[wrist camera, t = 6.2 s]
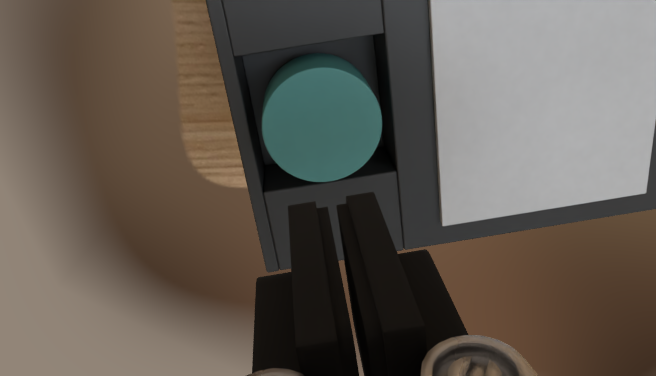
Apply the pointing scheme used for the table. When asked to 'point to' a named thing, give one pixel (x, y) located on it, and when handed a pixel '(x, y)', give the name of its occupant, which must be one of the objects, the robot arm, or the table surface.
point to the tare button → (320, 118)
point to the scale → (459, 111)
